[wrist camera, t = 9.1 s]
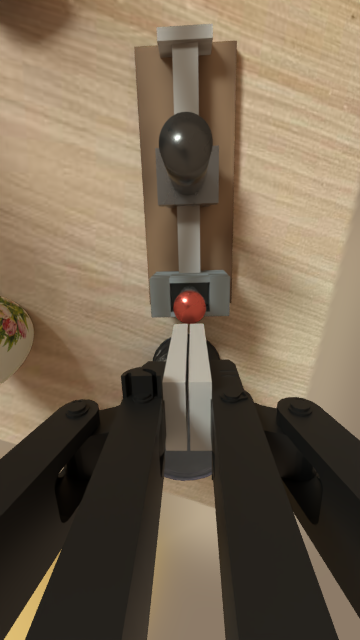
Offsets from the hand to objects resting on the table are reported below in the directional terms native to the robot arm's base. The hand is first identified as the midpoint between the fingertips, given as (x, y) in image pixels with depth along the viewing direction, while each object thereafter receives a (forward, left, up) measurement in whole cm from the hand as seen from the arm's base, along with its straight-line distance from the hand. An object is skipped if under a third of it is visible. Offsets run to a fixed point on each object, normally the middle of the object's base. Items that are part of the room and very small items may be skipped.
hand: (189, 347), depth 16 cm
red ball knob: (0, 0, -14) cm, 14 cm away
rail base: (0, +11, -20) cm, 23 cm away
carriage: (0, +11, -19) cm, 22 cm away
